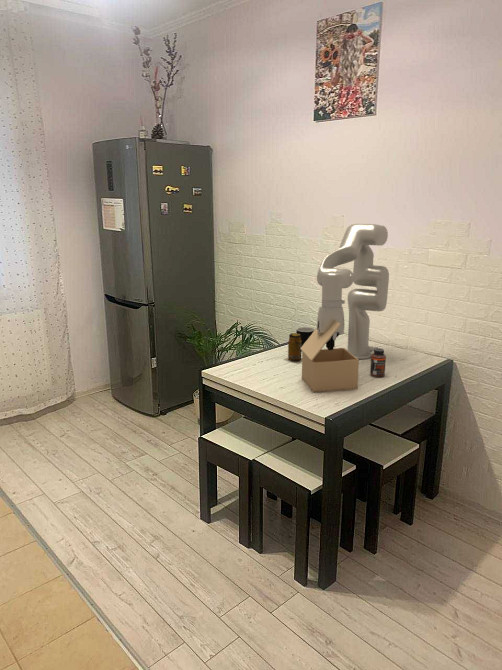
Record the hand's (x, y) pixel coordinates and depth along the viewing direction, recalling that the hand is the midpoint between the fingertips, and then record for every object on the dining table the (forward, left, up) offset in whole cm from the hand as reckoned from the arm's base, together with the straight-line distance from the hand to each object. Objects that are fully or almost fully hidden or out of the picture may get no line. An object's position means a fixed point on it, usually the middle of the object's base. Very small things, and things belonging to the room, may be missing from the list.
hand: (330, 349), depth 203 cm
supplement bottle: (-23, -5, -15) cm, 28 cm away
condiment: (+5, -32, -15) cm, 36 cm away
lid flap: (+4, 0, +5) cm, 7 cm away
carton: (0, 0, -15) cm, 15 cm away
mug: (-5, -48, -15) cm, 50 cm away
